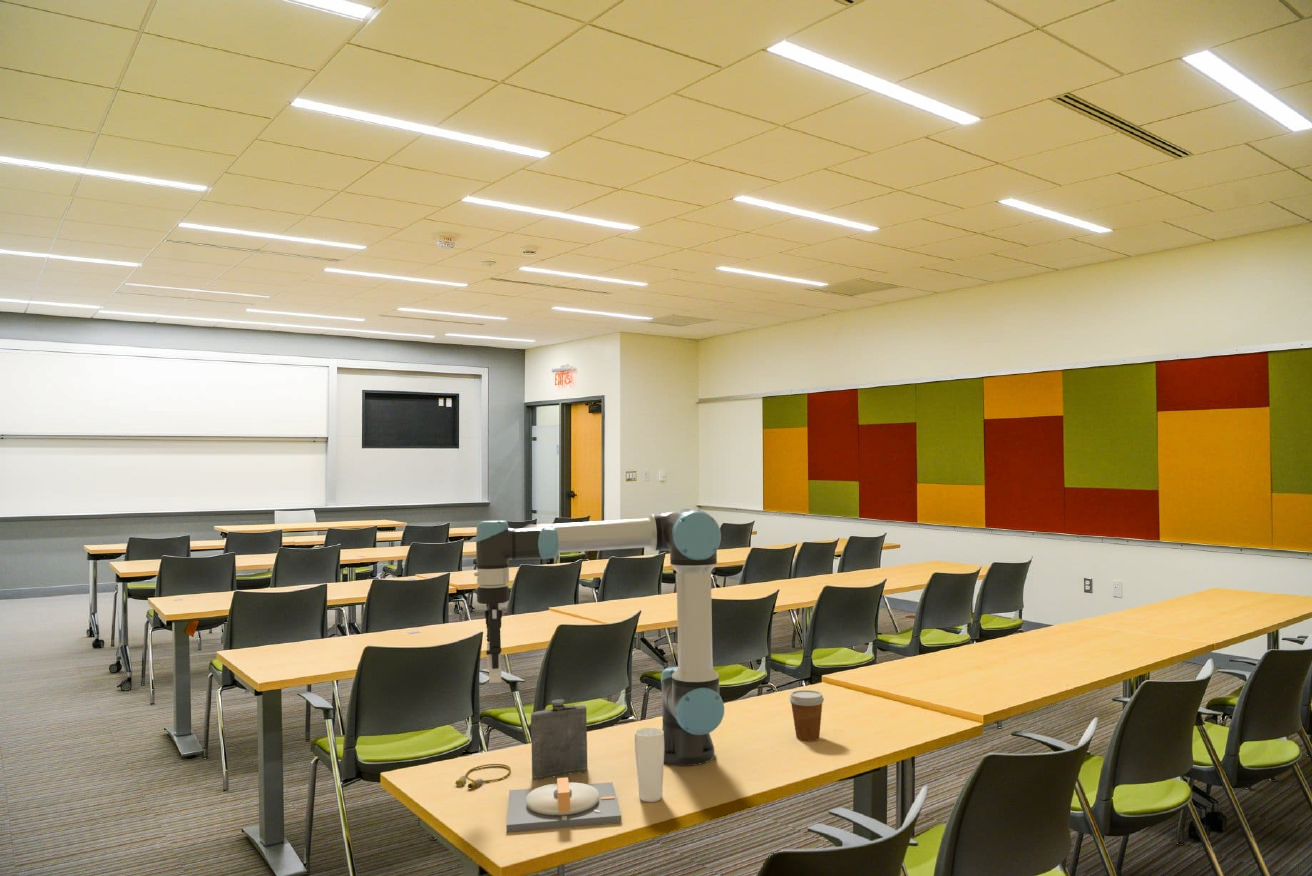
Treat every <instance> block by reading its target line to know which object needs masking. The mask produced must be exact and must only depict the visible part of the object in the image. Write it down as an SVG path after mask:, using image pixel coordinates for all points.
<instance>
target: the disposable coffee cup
mask: <svg viewBox="0 0 1312 876" xmlns="http://www.w3.org/2000/svg"><path fill="white" fill-rule="evenodd" d="M788 699H789V702H790V704H791V710H792V718H793V724H794V730H795V737H796V739H797V738H798V739H797V740H799V741H802V742H813V741H817V740H819V739H820V734H821V722H822V721H821V720H822V712H823V703H824V700H825V698H824V697H823V694H822V693H821V692H820V691H817V690H812V689H811V690H810V689H809V690H808V689H801V690H800V689H799V690H794V691H792V692H791V693H790V696H789V697H788Z"/></svg>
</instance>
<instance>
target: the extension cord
mask: <svg viewBox="0 0 1312 876" xmlns="http://www.w3.org/2000/svg"><path fill="white" fill-rule="evenodd" d="M481 768H483V769H489V768H501V769H502V768H503V769H506V770H508V772H507V773H506V774H505V775H504V776H502V777H499V778H495V779H493V778H492V779H486V780H484V779H482V778H477V779H471V778H470V777H468V774H470V773H471V772H473V770H474V771H478V770H482V769H481ZM477 769H478V770H477ZM470 771H471V772H470ZM510 773H511V774H512V769H511V767H510V766H509V765H507V764H503V763H489V764H482V765H478V766H476V767H472V768H470V769H469V770H467V771H466V773H465V775H462V776H461V777H459V778H458V779H457V780H456V781H455V785H456V787H465V786H466V783H467V780H469V779H470V780H469V781H471V782H470V783H468V784H467V788H468V790H472V789H473V790H474V789H477V788H479V787H480V786H481V785H483V784H484V783H487V784H491V783H490V782H499V781H503V780H504V779H503V778H505V779H506V778H508V777H509V776H510V775H511V774H510ZM507 776H508V777H507ZM467 778H468V779H467ZM502 779H503V780H502ZM497 780H498V781H497ZM478 786H479V787H478ZM469 788H471V789H469Z"/></svg>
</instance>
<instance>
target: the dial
mask: <svg viewBox="0 0 1312 876" xmlns="http://www.w3.org/2000/svg"><path fill="white" fill-rule="evenodd" d="M587 784H588V783H583V782H582V783H581V782H573V781H571V782H569V777H558V778H557V777H556V783H550V784H545V785H543V786H539V787H535V788H536V789H534V790H533V791H531V792H530V793H529V794H528V795H527V798H526V804H527V807H528V808H529V809H530V810H532V811H534V812H536V813H540V814H545V815H568V814H575V813H579V812H583V811H585V810H588V809H590V808H592V807H594V806H595V805H596V804H597V803H598V801H599V792H598V790H597V789H596V788H594V787H593V786H590V785H587Z"/></svg>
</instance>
